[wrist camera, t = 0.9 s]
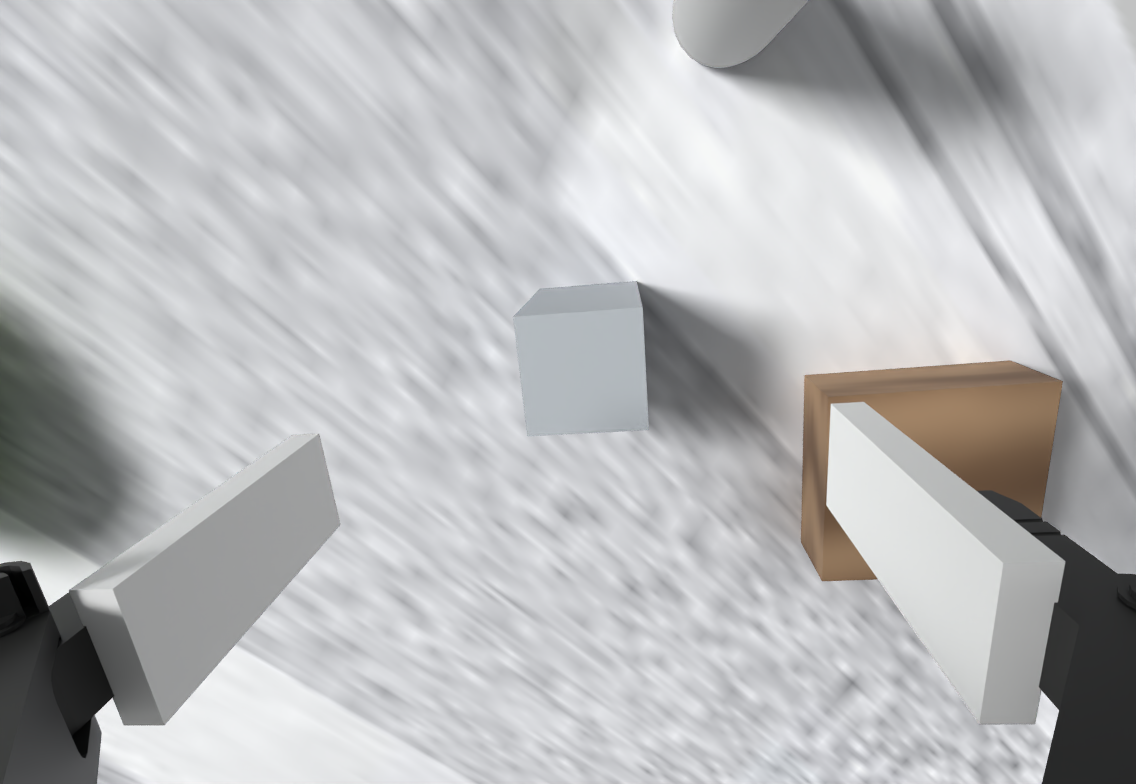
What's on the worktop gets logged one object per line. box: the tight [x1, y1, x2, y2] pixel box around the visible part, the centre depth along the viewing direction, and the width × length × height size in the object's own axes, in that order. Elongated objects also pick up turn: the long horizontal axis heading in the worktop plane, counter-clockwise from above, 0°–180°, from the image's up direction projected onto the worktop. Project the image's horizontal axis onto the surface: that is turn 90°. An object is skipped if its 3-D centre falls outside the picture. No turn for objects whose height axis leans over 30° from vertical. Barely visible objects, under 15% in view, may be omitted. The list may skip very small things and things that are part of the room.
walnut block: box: [801, 361, 1063, 581], centre depth 30 cm, size 10×10×4 cm
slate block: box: [513, 281, 649, 436], centre depth 27 cm, size 5×5×8 cm
